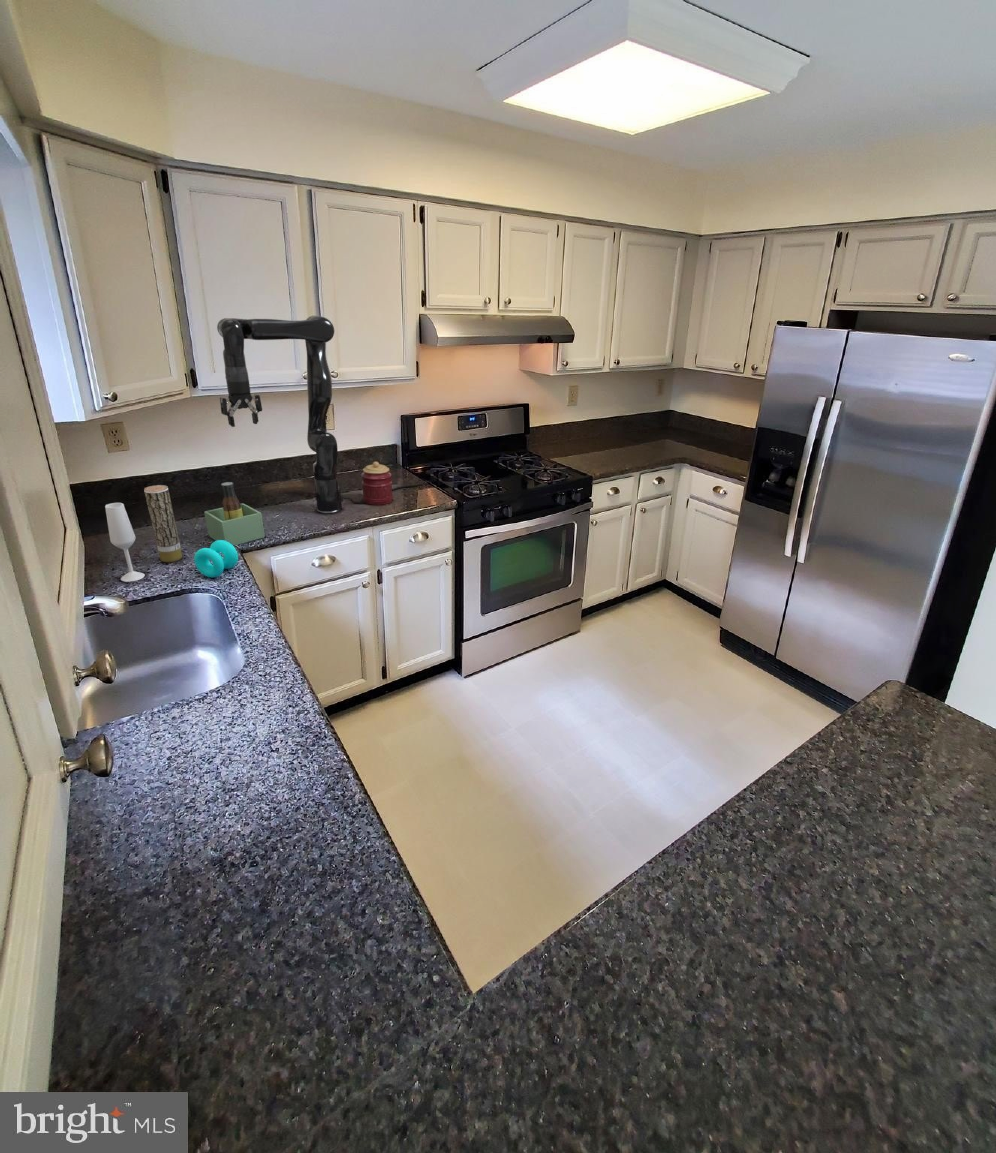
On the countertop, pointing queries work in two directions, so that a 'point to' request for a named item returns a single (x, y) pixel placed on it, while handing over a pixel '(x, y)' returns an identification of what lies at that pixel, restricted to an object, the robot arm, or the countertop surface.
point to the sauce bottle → (230, 502)
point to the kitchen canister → (377, 484)
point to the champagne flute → (122, 536)
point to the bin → (235, 526)
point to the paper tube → (163, 523)
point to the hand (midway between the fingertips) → (244, 425)
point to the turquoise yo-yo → (216, 558)
